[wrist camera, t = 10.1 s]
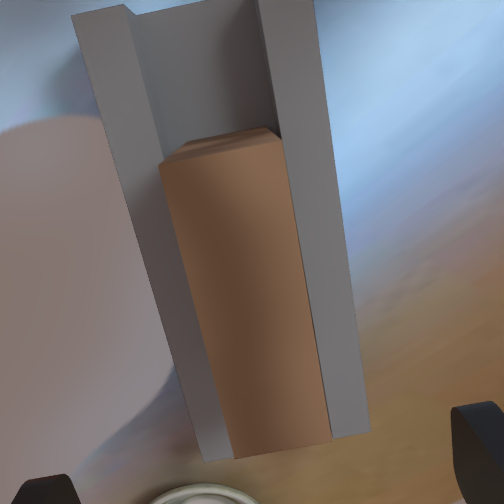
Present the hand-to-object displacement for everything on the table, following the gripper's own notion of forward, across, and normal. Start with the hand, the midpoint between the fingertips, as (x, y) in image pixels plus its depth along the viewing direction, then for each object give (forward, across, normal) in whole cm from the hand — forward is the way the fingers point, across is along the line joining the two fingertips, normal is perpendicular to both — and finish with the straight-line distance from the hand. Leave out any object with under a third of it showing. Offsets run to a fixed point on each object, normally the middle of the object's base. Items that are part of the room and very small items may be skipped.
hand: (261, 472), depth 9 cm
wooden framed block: (+16, 0, 0) cm, 16 cm away
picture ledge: (+17, 0, 0) cm, 17 cm away
